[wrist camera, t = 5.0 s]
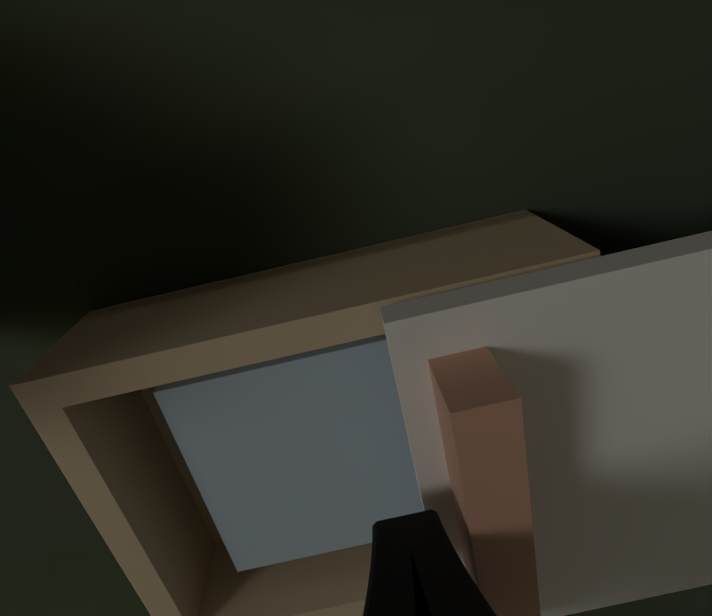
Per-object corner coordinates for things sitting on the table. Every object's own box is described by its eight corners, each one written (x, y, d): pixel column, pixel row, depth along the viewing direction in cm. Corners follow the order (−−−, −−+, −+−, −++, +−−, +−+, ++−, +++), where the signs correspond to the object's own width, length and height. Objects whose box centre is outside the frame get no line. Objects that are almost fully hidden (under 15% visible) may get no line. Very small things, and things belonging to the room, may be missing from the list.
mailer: (544, 470, 18) (602, 567, 14) (205, 545, 18) (177, 658, 15) (525, 209, 14) (600, 250, 10) (89, 310, 14) (9, 386, 10)
